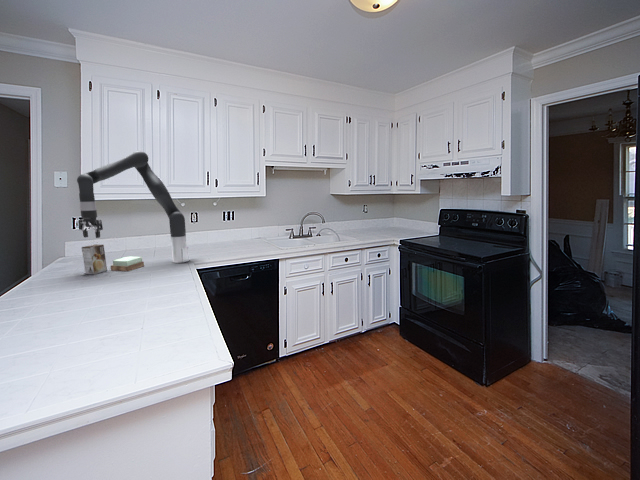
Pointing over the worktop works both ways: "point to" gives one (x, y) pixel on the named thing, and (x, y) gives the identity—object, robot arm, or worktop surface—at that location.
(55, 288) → the worktop surface
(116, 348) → the worktop surface
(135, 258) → the top slab
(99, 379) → the worktop surface
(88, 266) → the coffee box
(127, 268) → the bottom slab
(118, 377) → the worktop surface
